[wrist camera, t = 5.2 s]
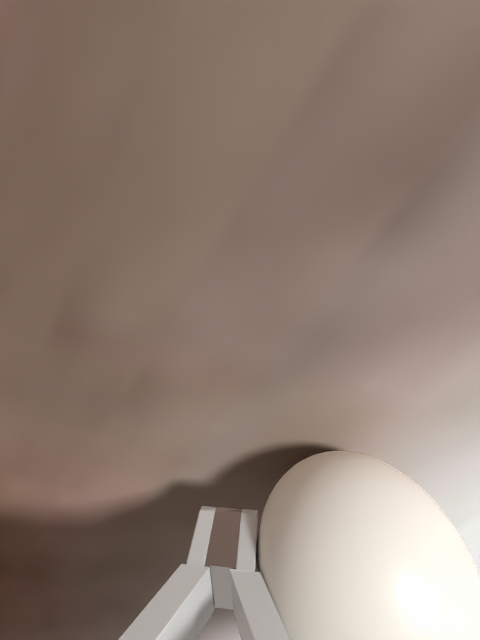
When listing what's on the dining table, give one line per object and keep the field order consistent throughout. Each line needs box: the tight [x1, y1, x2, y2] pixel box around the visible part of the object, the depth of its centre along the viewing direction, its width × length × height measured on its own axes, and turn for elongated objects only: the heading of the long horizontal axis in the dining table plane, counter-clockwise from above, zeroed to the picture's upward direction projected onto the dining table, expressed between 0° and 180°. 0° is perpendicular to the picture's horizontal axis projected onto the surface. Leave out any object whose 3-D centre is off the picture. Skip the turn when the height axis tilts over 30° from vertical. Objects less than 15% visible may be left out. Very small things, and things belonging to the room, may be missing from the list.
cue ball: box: [257, 451, 480, 640], centre depth 7 cm, size 6×6×6 cm
